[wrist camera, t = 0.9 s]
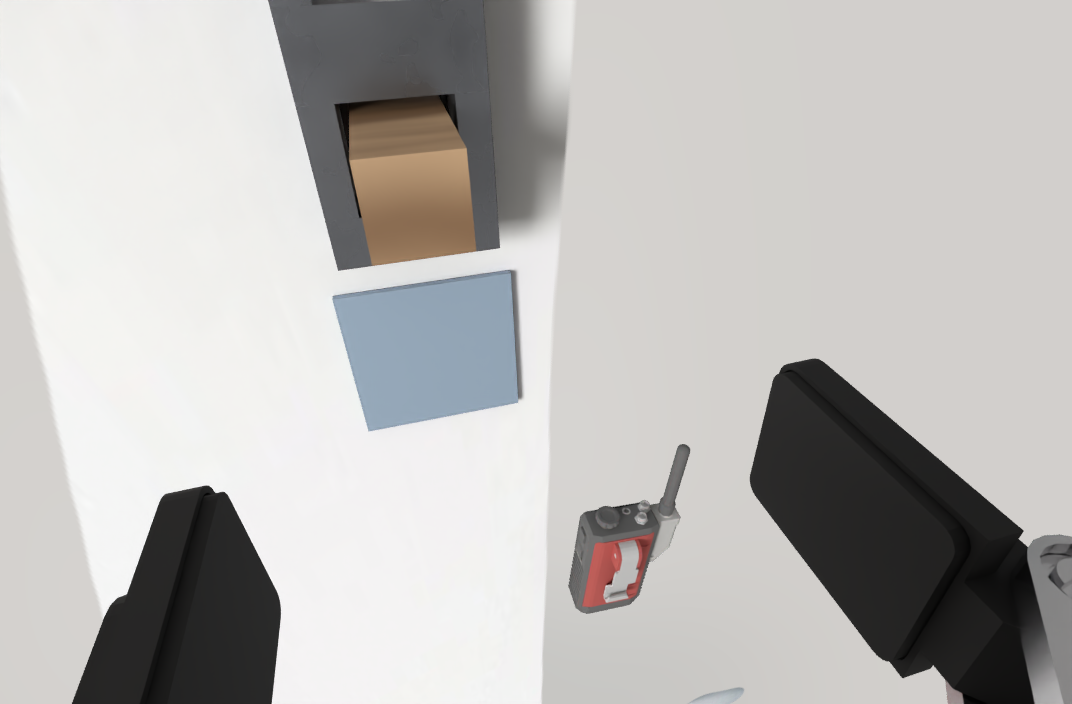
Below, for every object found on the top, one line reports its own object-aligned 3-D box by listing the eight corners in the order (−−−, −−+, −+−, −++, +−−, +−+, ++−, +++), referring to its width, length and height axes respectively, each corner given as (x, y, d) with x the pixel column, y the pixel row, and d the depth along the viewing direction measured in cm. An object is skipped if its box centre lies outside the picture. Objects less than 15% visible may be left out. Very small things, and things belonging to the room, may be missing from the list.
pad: (332, 296, 32) (332, 299, 32) (509, 270, 34) (510, 273, 33) (368, 427, 38) (368, 431, 38) (516, 398, 40) (518, 402, 39)
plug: (349, 98, 27) (349, 160, 20) (436, 91, 27) (466, 148, 20) (366, 183, 29) (372, 266, 22) (446, 174, 30) (476, 251, 23)
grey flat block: (217, -242, 20) (199, -265, 17) (452, -237, 21) (465, -257, 19) (338, 244, 30) (338, 270, 28) (488, 224, 32) (499, 247, 29)
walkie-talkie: (645, 577, 59) (689, 432, 47) (664, 617, 55) (716, 472, 44) (563, 594, 57) (588, 447, 45) (577, 637, 53) (608, 489, 42)
